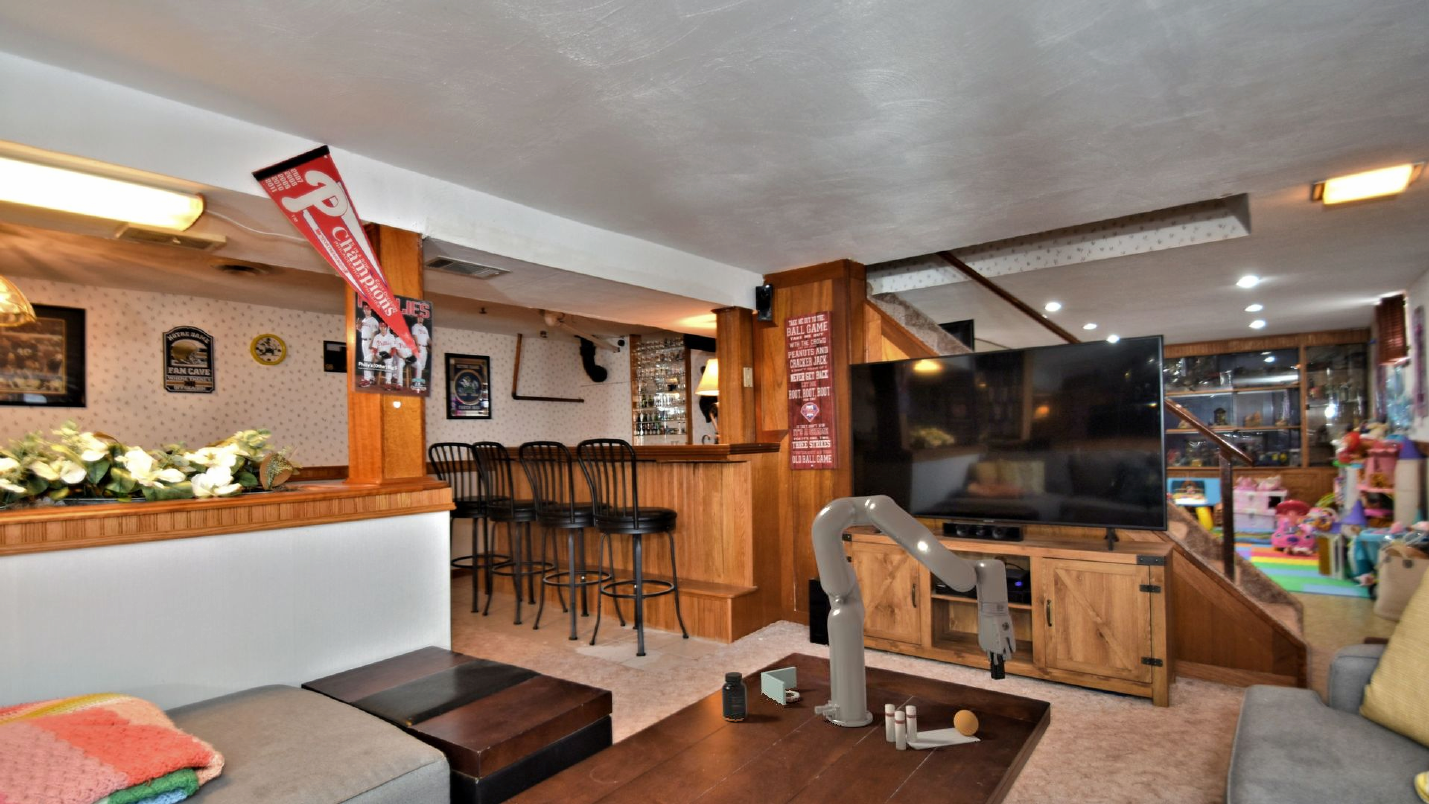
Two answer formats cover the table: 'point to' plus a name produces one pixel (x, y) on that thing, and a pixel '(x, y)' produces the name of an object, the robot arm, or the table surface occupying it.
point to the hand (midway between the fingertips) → (998, 678)
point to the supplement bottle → (734, 696)
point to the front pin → (911, 724)
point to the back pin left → (890, 722)
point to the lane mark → (941, 738)
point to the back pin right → (900, 730)
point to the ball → (966, 722)
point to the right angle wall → (779, 684)
